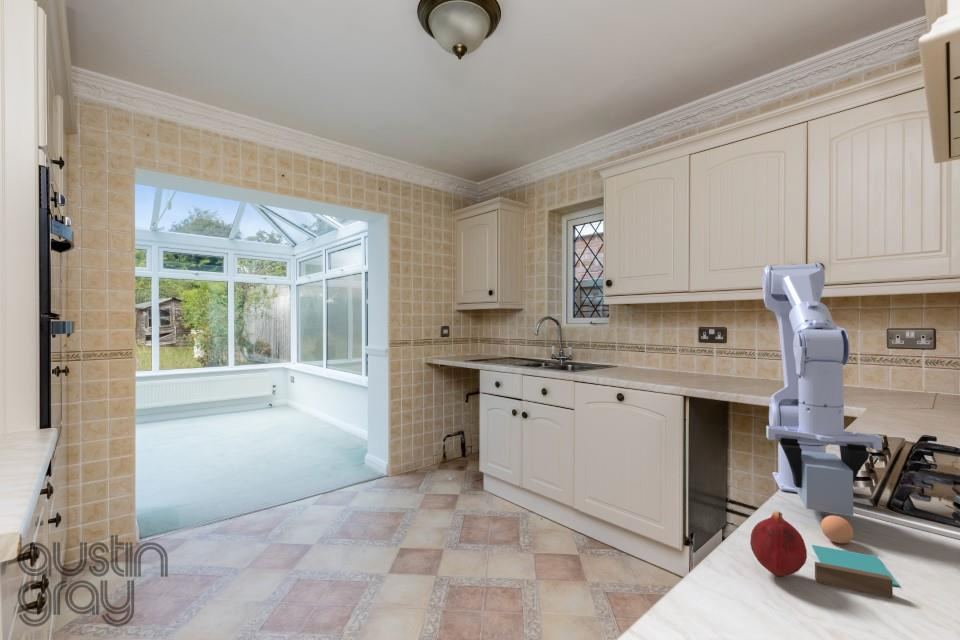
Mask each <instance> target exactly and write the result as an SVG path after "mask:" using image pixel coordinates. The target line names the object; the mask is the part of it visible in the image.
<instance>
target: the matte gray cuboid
mask: <svg viewBox="0 0 960 640" xmlns="http://www.w3.org/2000/svg"><path fill="white" fill-rule="evenodd" d="M801 479H802V486H801V488H797V487H796V486H795V490H796V491H797V492H796V493H797V495H798V497H799V498H800V500H801V502H802V503H803V505H804V507H805V508H806V510H812V511H819V512H826V513H833V514H838V515H840V514H841V515H846V516H852V517H853V516H854V483H853V471H852V470H851V469H850V468H849V467H848V466H847V465H846V464H845V463H844V462H843V461H842V460H841V457H839V456H838V455H837V454H836V453H830V452H826V453H820V452H810V451H802V454H801Z"/></svg>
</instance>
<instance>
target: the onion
mask: <svg viewBox="0 0 960 640" xmlns="http://www.w3.org/2000/svg"><path fill="white" fill-rule="evenodd" d="M771 514H772V515H771V516H770V517H768V518H765V519H763V520H761V521H759V522H758V523H757V524H755V525H754V527H753V529H752V531H751V533H750V541H749V543H750V548H751V551H752V553H753V555H754V557H755V558H756V560H757V561H758V563H760V565H761V566H762V567H763V568H764V569H766V570H767V571H768V572H770V573H771V574H772V575H773V576H775V577H777V578H783V577H785V576H790V575H794V574H796V573H798V572H799V571H800V570H801V569H802V567H803V566H804V565H805V564H806V561H807V558H808V555H807V554H808V553H807V552H808V551H807V546H806V544H805V543H806V542H805V541H804V539H803V537H802V535H801V534H800V533H799V531H798V530H797V529H796V527H794V526H793V525H792V524H791V523H790V522H788V521H787V520H785V518H783V516H782V515H783V514H782V512H780V511H779V510H777V509H776V510H774V511H772V513H771Z"/></svg>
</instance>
